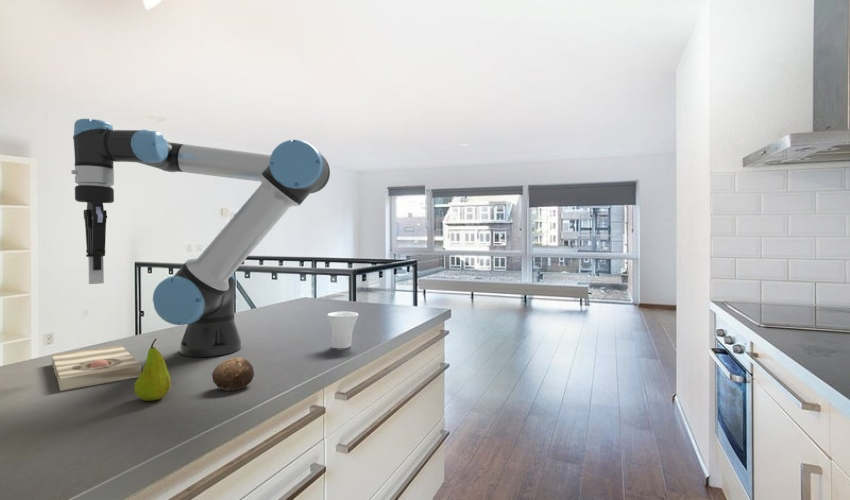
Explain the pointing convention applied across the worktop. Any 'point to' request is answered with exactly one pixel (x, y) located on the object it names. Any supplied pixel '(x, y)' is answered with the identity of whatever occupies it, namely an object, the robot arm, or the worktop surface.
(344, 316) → the cup
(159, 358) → the fruit
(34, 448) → the worktop surface
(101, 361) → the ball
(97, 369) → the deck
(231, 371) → the brown potato
